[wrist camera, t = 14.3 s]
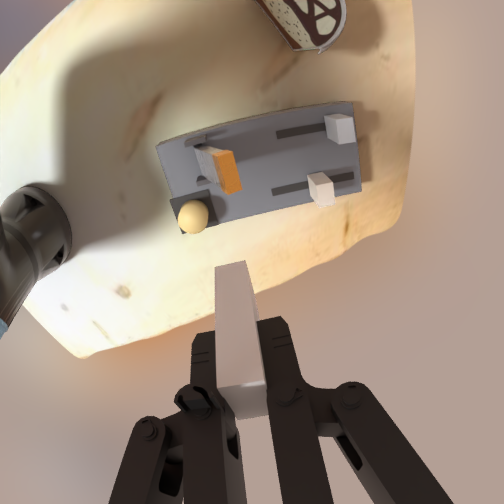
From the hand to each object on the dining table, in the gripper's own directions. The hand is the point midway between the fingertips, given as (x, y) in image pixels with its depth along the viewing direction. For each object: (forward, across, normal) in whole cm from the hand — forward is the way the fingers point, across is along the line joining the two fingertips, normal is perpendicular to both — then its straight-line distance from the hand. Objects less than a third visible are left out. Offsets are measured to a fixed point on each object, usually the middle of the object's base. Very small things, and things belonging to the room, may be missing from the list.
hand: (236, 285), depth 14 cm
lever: (+22, -2, +2) cm, 22 cm away
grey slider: (+22, +14, +2) cm, 26 cm away
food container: (+26, +12, +18) cm, 33 cm away
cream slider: (+22, +10, -5) cm, 25 cm away
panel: (+25, +5, -1) cm, 26 cm away
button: (+23, -5, -5) cm, 24 cm away
